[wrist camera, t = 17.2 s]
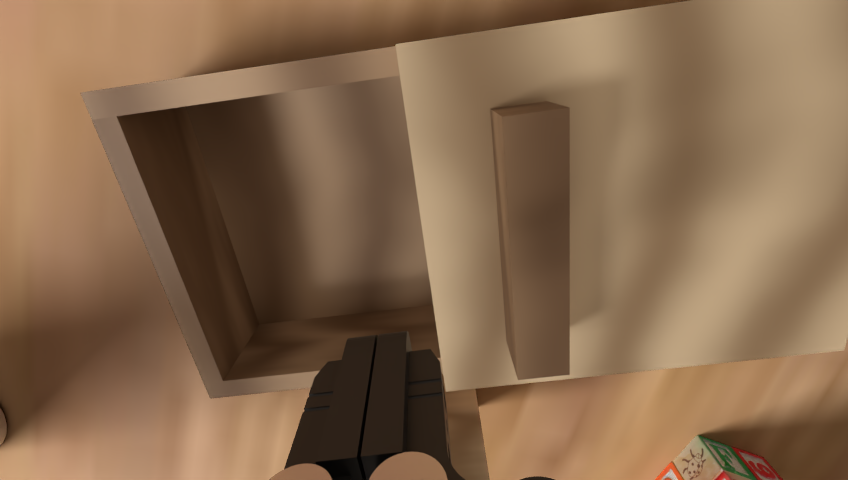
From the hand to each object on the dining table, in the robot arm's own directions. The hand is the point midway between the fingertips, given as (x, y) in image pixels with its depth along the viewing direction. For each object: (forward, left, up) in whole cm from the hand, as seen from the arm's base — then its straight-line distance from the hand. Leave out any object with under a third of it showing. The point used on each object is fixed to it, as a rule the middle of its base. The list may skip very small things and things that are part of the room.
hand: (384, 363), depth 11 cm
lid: (+10, 0, -8) cm, 13 cm away
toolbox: (+1, 0, -14) cm, 14 cm away
